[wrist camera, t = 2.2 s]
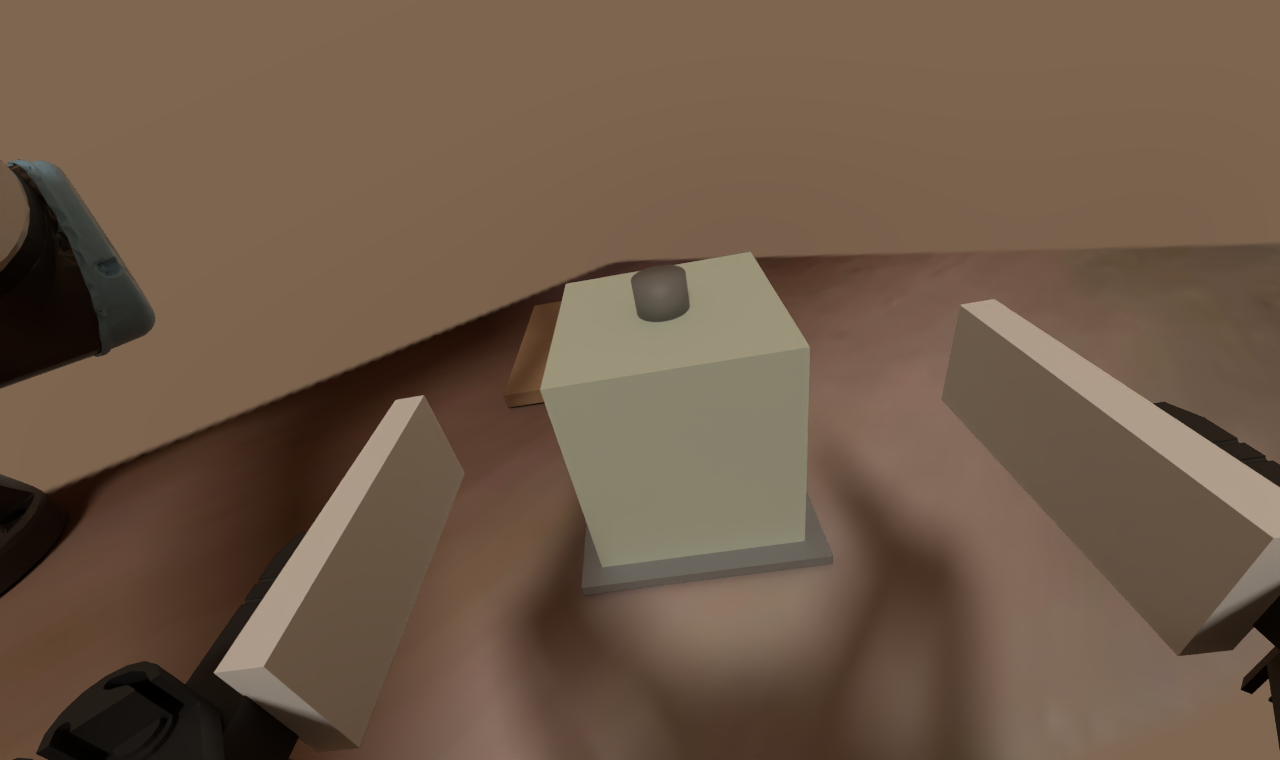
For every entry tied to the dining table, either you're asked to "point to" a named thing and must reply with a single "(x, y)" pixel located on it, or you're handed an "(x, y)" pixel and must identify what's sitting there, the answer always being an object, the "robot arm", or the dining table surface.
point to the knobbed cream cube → (681, 410)
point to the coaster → (707, 562)
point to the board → (532, 357)
